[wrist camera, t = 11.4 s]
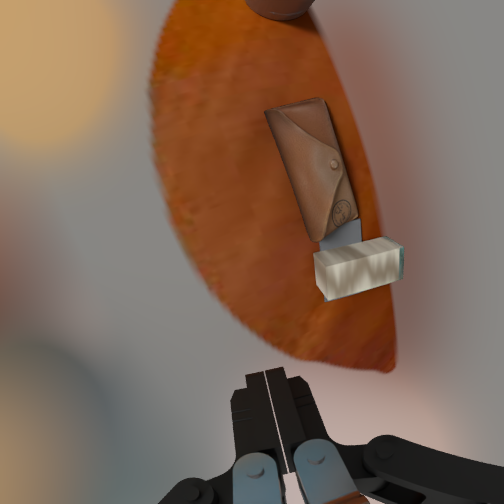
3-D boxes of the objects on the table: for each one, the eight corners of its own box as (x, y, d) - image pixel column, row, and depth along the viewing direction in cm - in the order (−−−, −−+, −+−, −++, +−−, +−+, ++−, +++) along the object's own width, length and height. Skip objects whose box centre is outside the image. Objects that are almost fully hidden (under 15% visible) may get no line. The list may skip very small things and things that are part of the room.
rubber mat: (317, 226, 40) (318, 227, 39) (359, 218, 40) (360, 219, 40) (324, 300, 44) (325, 302, 44) (361, 290, 44) (362, 291, 44)
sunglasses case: (362, 217, 39) (360, 237, 34) (317, 226, 43) (307, 247, 37) (321, 93, 33) (312, 91, 28) (274, 109, 36) (256, 111, 31)
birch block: (325, 266, 36) (404, 246, 37) (313, 253, 41) (386, 236, 41) (328, 300, 38) (402, 278, 38) (316, 284, 42) (386, 265, 43)
